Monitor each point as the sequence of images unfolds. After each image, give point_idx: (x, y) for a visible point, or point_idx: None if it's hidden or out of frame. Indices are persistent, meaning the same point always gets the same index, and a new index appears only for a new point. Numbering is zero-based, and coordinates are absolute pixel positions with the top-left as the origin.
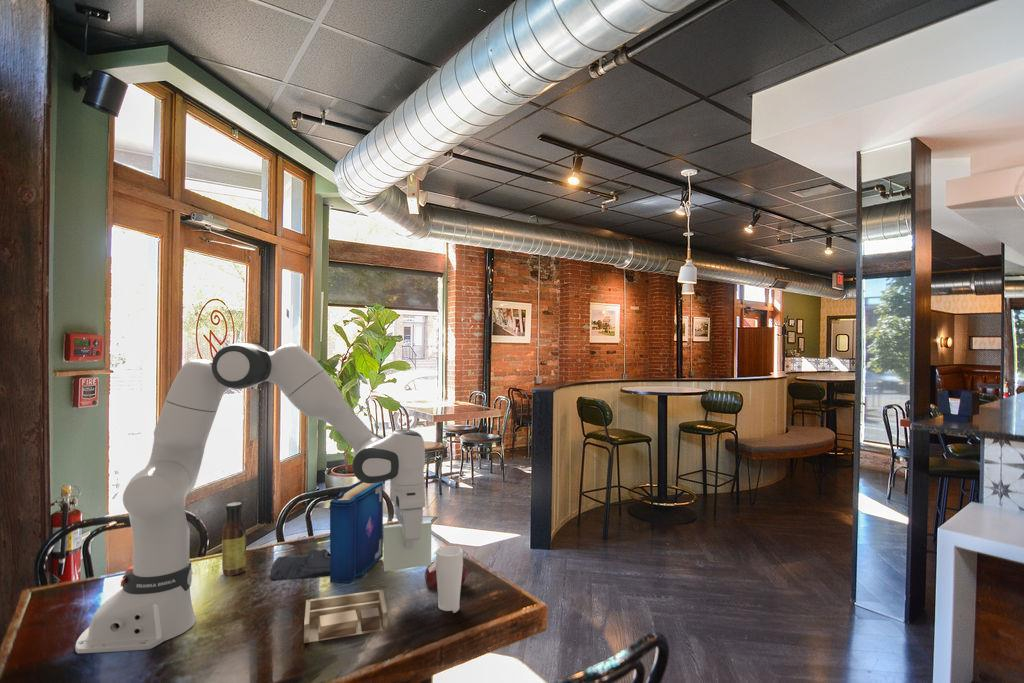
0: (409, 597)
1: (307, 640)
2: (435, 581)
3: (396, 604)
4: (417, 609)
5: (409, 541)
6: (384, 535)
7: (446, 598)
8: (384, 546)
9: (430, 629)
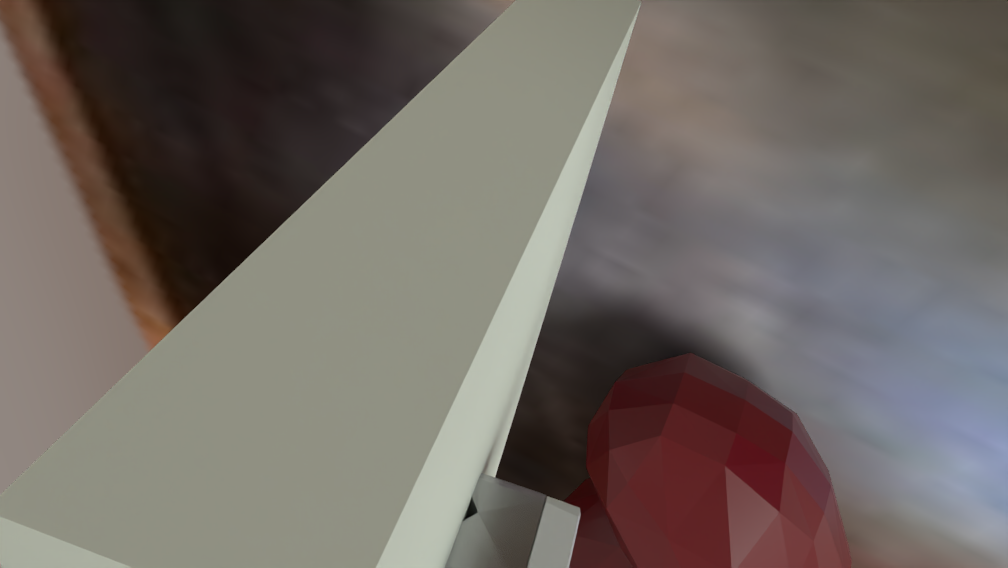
0: (702, 184)
1: None
2: (603, 406)
3: (652, 41)
4: None
5: None
6: (231, 273)
7: None
8: (398, 117)
9: (191, 91)
